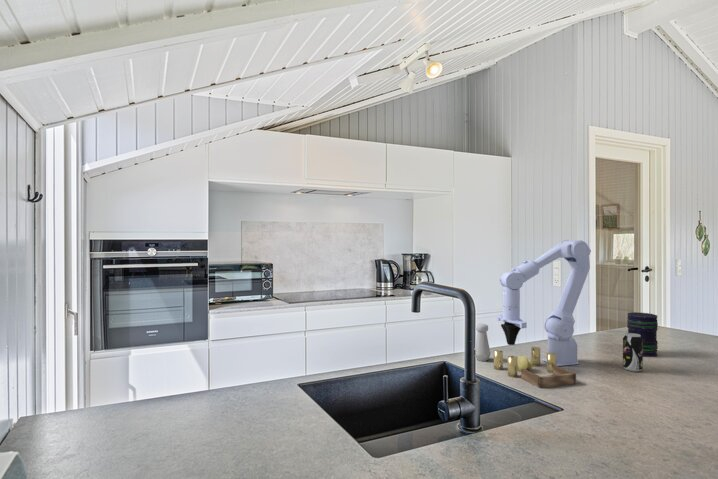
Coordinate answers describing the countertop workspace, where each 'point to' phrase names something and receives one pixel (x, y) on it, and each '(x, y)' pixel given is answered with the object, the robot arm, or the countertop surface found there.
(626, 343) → the beverage can
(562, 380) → the corral
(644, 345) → the storage jar
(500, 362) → the spacer field
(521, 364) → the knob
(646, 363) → the countertop surface
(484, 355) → the salt shaker
